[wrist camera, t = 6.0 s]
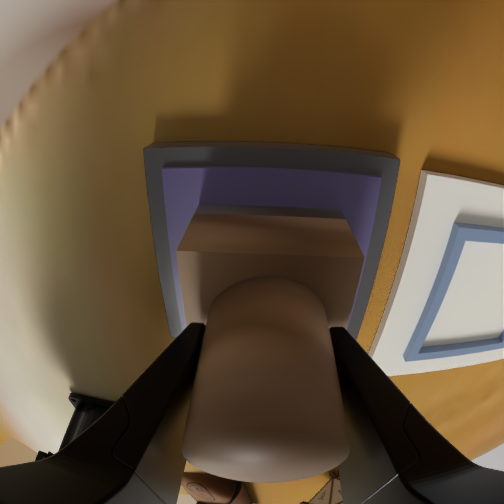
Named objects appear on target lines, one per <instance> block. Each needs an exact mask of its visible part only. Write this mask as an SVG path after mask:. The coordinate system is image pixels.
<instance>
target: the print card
mask: <svg viewBox="0 0 504 504" xmlns="http://www.w3.org/2000/svg"><path fill="white" fill-rule="evenodd" d="M368 355H369V356H370V357H371V358H372V359H373V360H374V361H375V362H376V364H377V365H378V366H379V367H380V368H381V369H382V370H383V372H384V373H385V374H386V375H387V376H395V375H405V374H414V373H422V372H430V371H438V370H445V369H451V368H458V367H464V366H469V365H475V364H480V363H485V362H490V361H495V360H500V359H504V186H503V185H499V184H495V183H490V182H485V181H481V180H476V179H471V178H466V177H461V176H455V175H450V174H444V173H438V172H432V171H426V170H421V174H420V179H419V184H418V189H417V194H416V199H415V203H414V208H413V212H412V217H411V221H410V225H409V229H408V233H407V237H406V241H405V244H404V248H403V252H402V255H401V259H400V263H399V266H398V269H397V273H396V276H395V279H394V283H393V286H392V289H391V292H390V295H389V298H388V301H387V304H386V307H385V310H384V313H383V316H382V319H381V321H380V324H379V327H378V330H377V332H376V335H375V338H374V340H373V343H372V346H371V348H370V351H369V353H368Z"/></svg>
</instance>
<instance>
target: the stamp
mask: <svg viewBox="0 0 504 504" xmlns="http://www.w3.org/2000/svg"><path fill="white" fill-rule="evenodd" d="M176 254H177V262H178V270H179V277H180V285H181V292H182V299H183V306H184V313H185V319H186V325H187V326H188V325H189V324H190V323H191V322H199V323H204V324H205V326H206V327H205V332H204V336H203V341H202V346H201V351H200V355H199V360H198V365H197V370H196V375H195V380H194V385H193V390H192V395H191V400H190V405H189V410H188V415H187V420H186V426H185V431H184V436H183V441H182V447H181V451H182V455H183V456H184V458H185V459H186V460H187V461H188V462H189V463H191V464H192V465H193V466H195V467H197V468H198V469H200V470H203V471H205V472H207V473H210V474H213V475H216V476H219V477H223V478H227V479H232V480H237V481H244V482H257V483H275V482H287V481H295V480H300V479H305V478H309V477H313V476H316V475H319V474H322V473H325V472H327V471H329V470H331V469H333V468H335V467H337V466H338V465H340V464H341V463H342V462H343V461H344V460H345V459H346V458H347V457H348V455H349V452H350V447H349V440H348V433H347V427H346V420H345V414H344V408H343V402H342V396H341V390H340V384H339V378H338V373H337V367H336V362H335V357H334V351H333V346H332V341H331V336H330V331H329V329H330V328H331V327H344V328H345V329H347V325H348V321H349V318H350V314H351V311H352V307H353V303H354V299H355V295H356V292H357V288H358V284H359V279H360V275H361V271H362V267H363V263H364V258H365V257H364V255H363V253H362V251H361V249H360V247H359V245H358V243H357V241H356V239H355V237H354V235H353V233H352V231H351V229H350V227H349V225H348V223H347V221H346V219H345V217H344V215H343V213H342V211H341V210H336V209H318V208H299V207H275V206H245V205H198V207H197V209H196V211H195V213H194V215H193V217H192V219H191V221H190V223H189V225H188V227H187V229H186V231H185V233H184V235H183V237H182V239H181V242H180V244H179V246H178V248H177V250H176Z"/></svg>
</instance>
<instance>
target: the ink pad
mask: <svg viewBox="0 0 504 504" xmlns="http://www.w3.org/2000/svg"><path fill="white" fill-rule="evenodd" d="M143 151H144V163H145V174H146V184H147V193H148V202H149V210H150V218H151V226H152V233H153V240H154V247H155V253H156V260H157V266H158V272H159V278H160V284H161V289H162V295H163V300H164V305H165V311H166V316H167V321H168V325H169V330H170V335H171V337H173V338H177V337H178V335H179V334H180V333H181V332H182V331H183V330H184V329H185V328H186V327H187V325H186V319H185V313H184V306H183V299H182V292H181V285H180V277H179V270H178V262H177V254H176V250H177V248H178V246H179V244H180V242H181V239H182V237H183V235H184V233H185V231H186V229H187V227H188V225H189V223H190V221H191V219H192V217H193V215H194V213H195V211H196V209H197V207H198V205H245V206H275V207H299V208H318V209H336V210H341V211H342V213H343V215H344V217H345V219H346V221H347V223H348V225H349V227H350V229H351V231H352V233H353V235H354V237H355V239H356V241H357V243H358V245H359V247H360V249H361V251H362V253H363V255H364V257H365V258H364V263H363V267H362V271H361V275H360V279H359V284H358V288H357V292H356V295H355V299H354V303H353V307H352V311H351V314H350V318H349V321H348V325H347V329H346V330H347V331H348V332H349V333H350V334H351V335H352V337H353V338H354V339H355V340H356V339H357V336H358V333H359V330H360V327H361V324H362V321H363V318H364V314H365V311H366V308H367V304H368V301H369V298H370V294H371V291H372V287H373V284H374V280H375V276H376V273H377V269H378V265H379V261H380V257H381V253H382V249H383V245H384V241H385V236H386V232H387V228H388V223H389V218H390V214H391V209H392V204H393V199H394V193H395V188H396V182H397V177H398V171H399V165H400V159H399V158H397V157H396V156H394V155H393V154H391V153H388V152H380V151H372V150H364V149H355V148H346V147H336V146H324V145H311V144H297V143H278V142H249V141H192V142H163V143H152V144H150V145H149V146H147V147H145V148H144V149H143Z"/></svg>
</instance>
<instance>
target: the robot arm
mask: <svg viewBox="0 0 504 504" xmlns="http://www.w3.org/2000/svg"><path fill="white" fill-rule="evenodd" d="M205 327H206V326H205V324H204V323H199V322H191V323H190V324H189V325H188V326H187V327H186V328H185V329H184V330H183V331H182V332H181V333H180V334H179V335H178V337H177V338H176V339H175V340H174V341H173V342H172V343H171V344H170V345H169V346H168V347H167V348H166V349H165V350H164V351H163V352H162V354H161V355H160V356H159V357H158V358H157V359H156V360H155V361H154V362H153V363H152V364H151V365H150V366H149V367H148V368H147V369H146V370H145V372H144V373H143V374H142V375H141V376H140V377H139V378H138V379H137V380H136V381H135V382H134V383H133V384H132V385H131V386H130V387H129V389H128V390H127V391H126V392H125V393H124V394H123V395H122V396H123V397H120V398H119V399H118V400H117V401H116V402H115V403H111V402H106V401H102V400H97V399H93V398H89V397H85V396H81V395H77V394H73V393H70V395H69V400H70V402H71V403H72V404H73V406H74V407H75V411H74V413H73V415H72V418H71V420H70V423H69V425H68V428H67V430H66V433H65V435H64V438H63V441H62V443H61V446H60V448H59V451H58V452H57V453H55V454H53V453H51V452H48V454H47V453H44V452H41V451H39V452H38V455H37V457H36V460H35V461H34V462H28V463H23V464H17V465H11V466H5V467H0V504H176V503H177V498H178V494H179V490H180V486H181V481H182V477H183V472H184V468H185V464H186V459H185V458H184V456H183V455H182V451H181V447H182V441H183V436H184V431H185V426H186V420H187V415H188V410H189V405H190V400H191V395H192V390H193V385H194V380H195V375H196V370H197V365H198V360H199V355H200V351H201V346H202V341H203V336H204V332H205ZM329 331H330V336H331V341H332V346H333V351H334V357H335V362H336V367H337V373H338V378H339V384H340V390H341V396H342V402H343V408H344V414H345V420H346V427H347V433H348V440H349V447H350V452H349V455H348V457H347V458H346V459H345V460H344V461H343V462H342V463H341V464H340V465H338V470H339V477H340V484H341V492H342V500H343V504H504V472H503V471H498V470H494V469H489V468H485V467H482V466H479V465H477V464H475V463H473V462H472V461H470V460H469V459H467V458H466V457H465V456H464V455H463V454H462V453H461V452H460V451H458V450H457V449H456V448H455V447H454V446H453V445H452V444H451V443H450V442H449V441H448V440H446V439H445V438H444V437H443V436H442V435H441V434H440V433H439V432H438V431H437V430H436V429H435V428H434V427H433V426H432V425H431V424H430V423H429V422H428V421H427V420H426V419H425V418H424V417H423V416H422V415H421V414H420V412H419V411H418V410H417V409H416V408H415V407H414V406H413V404H411V403H410V401H409V400H408V399H407V398H406V397H405V395H404V394H403V393H402V392H401V391H400V390H399V389H398V387H397V386H396V385H395V384H394V383H393V382H392V381H391V379H390V378H389V377H388V376H387V375H386V374H385V373H384V372H383V370H382V369H381V368H380V367H379V366H378V365H377V364H376V362H375V361H374V360H373V359H372V358H371V357H370V356H369V355H368V353H367V352H366V351H365V350H364V349H363V348H362V347H361V346H360V344H359V343H358V342H357V341H356V340H355V339H354V338H353V337H352V335H351V334H350V333H349V332H348V331H347V330H346V329H345V328H344V327H331V328H330V329H329Z"/></svg>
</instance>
